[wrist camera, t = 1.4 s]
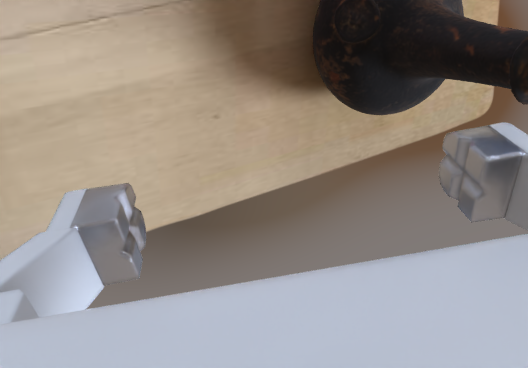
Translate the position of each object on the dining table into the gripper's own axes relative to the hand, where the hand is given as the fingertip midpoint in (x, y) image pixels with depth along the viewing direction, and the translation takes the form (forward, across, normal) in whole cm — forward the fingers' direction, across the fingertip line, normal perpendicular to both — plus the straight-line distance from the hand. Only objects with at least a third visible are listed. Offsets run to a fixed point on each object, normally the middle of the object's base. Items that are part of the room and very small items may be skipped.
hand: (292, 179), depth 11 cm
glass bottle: (+44, -16, +9) cm, 48 cm away
